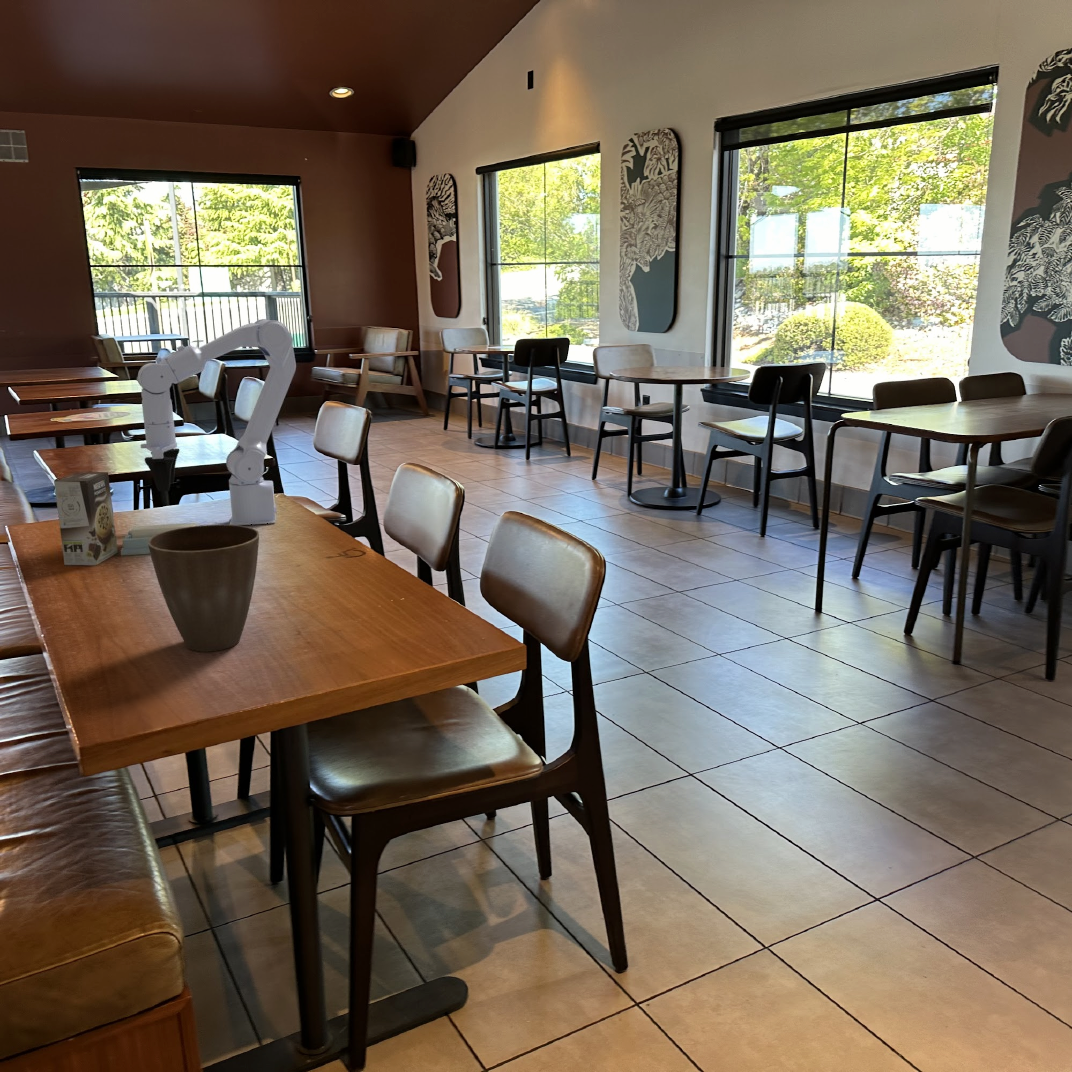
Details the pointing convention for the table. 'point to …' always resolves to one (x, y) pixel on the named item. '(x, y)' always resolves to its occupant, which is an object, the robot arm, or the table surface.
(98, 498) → the food box
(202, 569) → the plant pot
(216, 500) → the table surface
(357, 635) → the table surface
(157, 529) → the beige rectangular block
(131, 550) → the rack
